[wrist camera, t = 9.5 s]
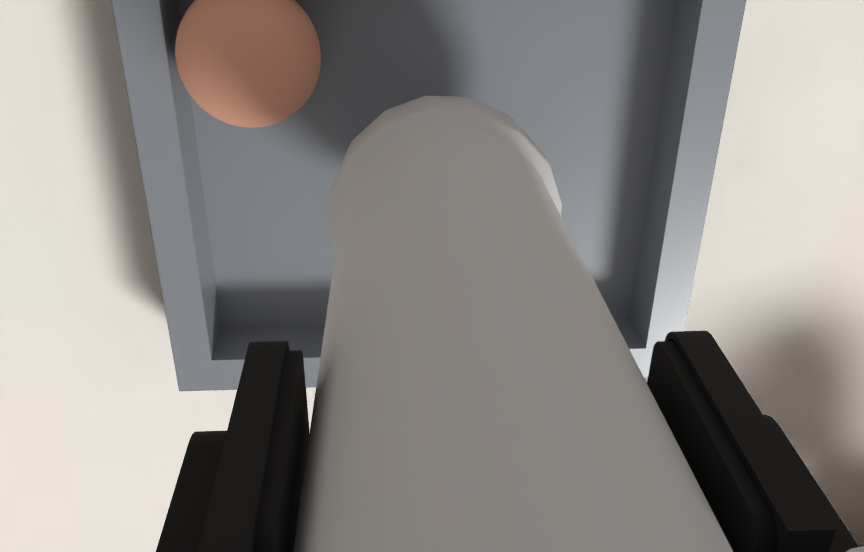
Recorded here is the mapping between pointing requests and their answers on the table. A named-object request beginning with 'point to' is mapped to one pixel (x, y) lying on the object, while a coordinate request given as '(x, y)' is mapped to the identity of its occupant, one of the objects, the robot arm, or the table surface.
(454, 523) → the bottle
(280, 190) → the tray
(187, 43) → the ball
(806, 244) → the table surface
